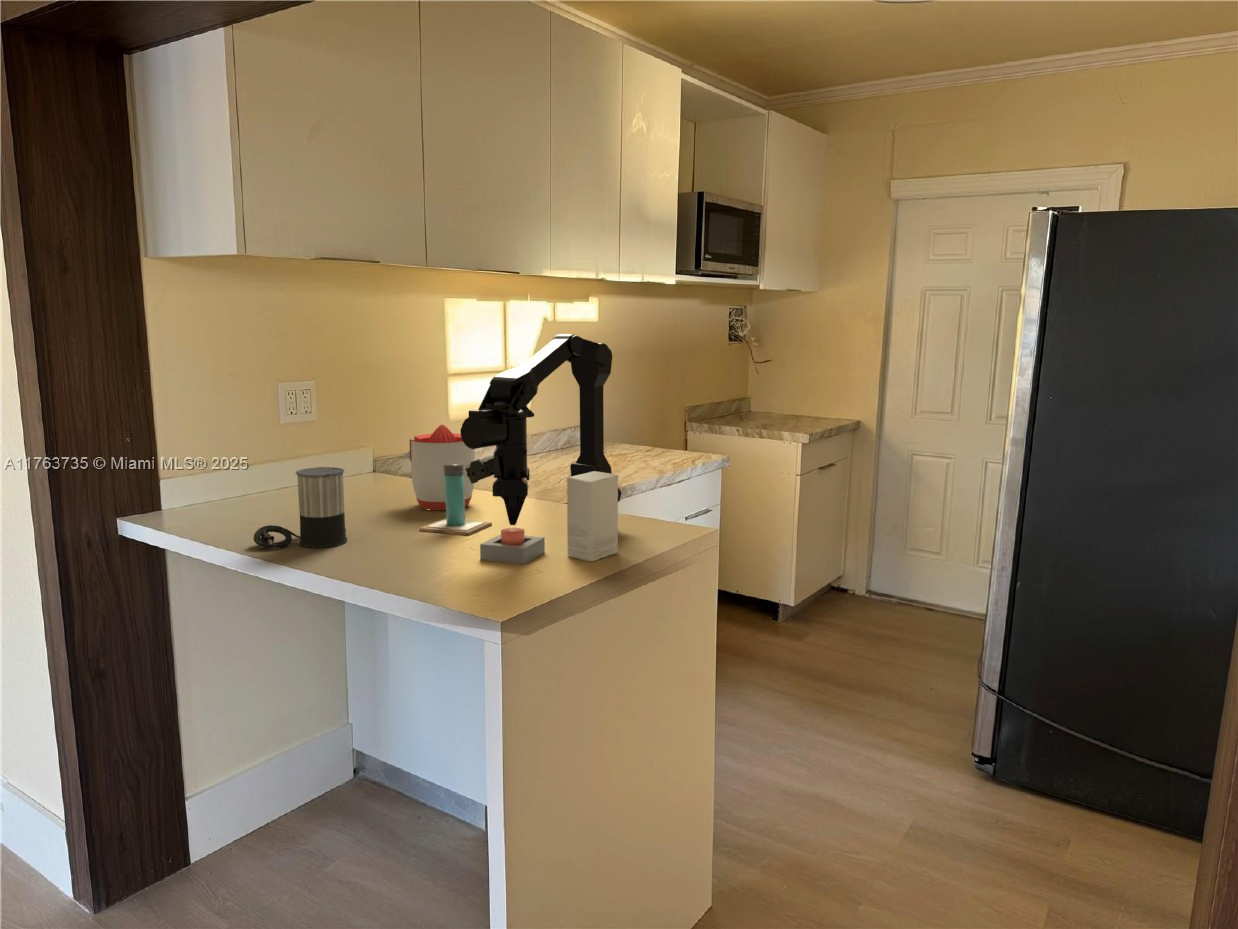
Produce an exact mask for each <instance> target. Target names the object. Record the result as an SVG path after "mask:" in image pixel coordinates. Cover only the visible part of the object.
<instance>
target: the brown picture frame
mask: <svg viewBox="0 0 1238 929" xmlns="http://www.w3.org/2000/svg"><path fill="white" fill-rule="evenodd" d="M492 525H493V522H490V521H479V520H478V521H477V520H470V519H469V520H467V519H465V525H461V526H448V525H447V522H446V517H445V518H441V519H439V520H436V521H433V522H431V523H428V524H425V525H423V526H421V527H419V528H418V530H419V531H420V532H429V533H430V532H431V533H437V534H438V533H440V534H450V535H457V536H458V535H459V536H467V537H468V536H471V535H473V534H476V533H478V532H480V531H482V530H485V529H487V528H489V527H492Z"/></svg>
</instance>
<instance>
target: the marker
mask: <svg viewBox="0 0 1238 929" xmlns="http://www.w3.org/2000/svg"><path fill="white" fill-rule="evenodd" d="M463 474H464V465H463V464H462V463H450V464H444V477H445V499H446V510H445V516H446V517H445V518H446V522H447V525H448V526H461V525H465V520H466V507H465V501H464V476H463Z"/></svg>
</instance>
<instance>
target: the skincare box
mask: <svg viewBox="0 0 1238 929" xmlns="http://www.w3.org/2000/svg"><path fill="white" fill-rule="evenodd" d="M566 485H567V486H566V494H567V497H566V498H567V500H566V501H567V503H566V505H567V508H566V509H567V510H566V511H567V517H566V518H567V519H566V520H567V521H566V522H567V524H566V525H567V530H566V532H567V533H566V535H567V540H566V542H567V557H569V558H572V559H573V558H574V559H577V558H579V559H578V560H581V559H582V561H585V560H586V561H585V562H589V561H593V562H596V561H598V560H601V559H605V558H606V557H610V556H612V555H615V554H618V552H619V551H618V550H619V549H618V548H619V547H618V546H619V545H618V543H619V542H618V541H619V538H618V537H619V536H618V532H619V531H618V530H619V529H618V527H619V514H618V513H619V502H618V488H619V474H615V473H612V474H610V473H603V472H597V471H593V472H589V473H585V474H580V475H576V476H571V475H570V476H567V477H566ZM609 555H610V556H609ZM600 558H601V559H600Z"/></svg>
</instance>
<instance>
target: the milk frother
mask: <svg viewBox="0 0 1238 929" xmlns="http://www.w3.org/2000/svg"><path fill="white" fill-rule="evenodd" d="M344 473H345V469H343V468H339V467H334V466H332V467H331V466H330V467H329V466H327V467H326V466H322V467H321V466H319V467H309V468H302V469H299V470H295V475H297V476H296V477H297V494H298V495H297V496H298V508H299V509H298V510H299V529H300V530H299V535H297V534H296V533H295V532H292V531H291V530H289V529H288V528H284V527H282V526H279V525H274V524H273V525H271V524H270V525H265V526H264V525H263V526H262V527H259V529H257V530H255V532H254V535H253V542H254V543H255V544H256V545H257V546H259V547H262V548H263V549H267V548H268V549H278V548H280V549H281V548H284V547H286V546H288V545H290V544H291V542H292V539H293V537H295V538H298V539H299V542H298V543H299V545H300V546H301V547H305V548H311V549H322V548H323V549H326V548H332V547H338V546H340V545H344V544H345V543H347V542H348V538H347V534H346V533H347V528H346V520H345V519H346V518H345V517H346V515H345V490H344V488H345V487H344ZM270 533H278V534H280V535H283V537H284V539H283V540H280V541H278V542H275V541H274V540H275V536H274V535H272V534H270Z"/></svg>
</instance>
